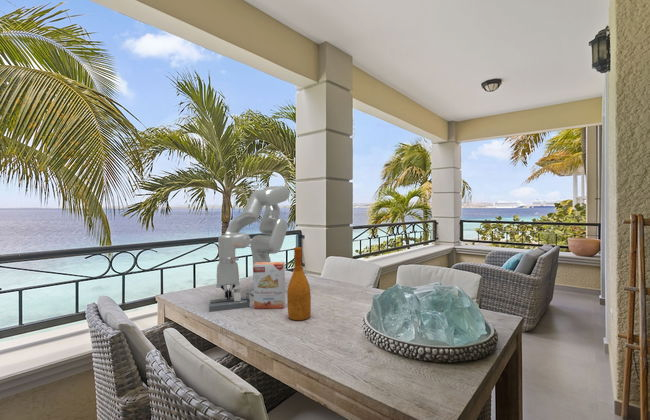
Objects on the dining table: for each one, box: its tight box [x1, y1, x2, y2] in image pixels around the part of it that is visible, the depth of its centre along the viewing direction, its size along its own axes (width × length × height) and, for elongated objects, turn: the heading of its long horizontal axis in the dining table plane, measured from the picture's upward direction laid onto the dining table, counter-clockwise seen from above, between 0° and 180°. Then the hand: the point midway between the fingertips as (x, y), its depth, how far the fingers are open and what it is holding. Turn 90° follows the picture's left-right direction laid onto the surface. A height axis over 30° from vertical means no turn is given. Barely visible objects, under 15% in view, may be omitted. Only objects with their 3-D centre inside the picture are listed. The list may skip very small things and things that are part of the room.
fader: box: [233, 288, 242, 302], centre depth 150 cm, size 3×5×5 cm, turn 17°
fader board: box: [208, 292, 251, 313], centre depth 149 cm, size 18×10×4 cm, turn 107°
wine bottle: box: [286, 246, 312, 321], centre depth 133 cm, size 10×10×30 cm
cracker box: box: [252, 261, 286, 310], centre depth 147 cm, size 14×6×21 cm, turn 90°
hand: (228, 298), depth 149 cm, fingers closed
